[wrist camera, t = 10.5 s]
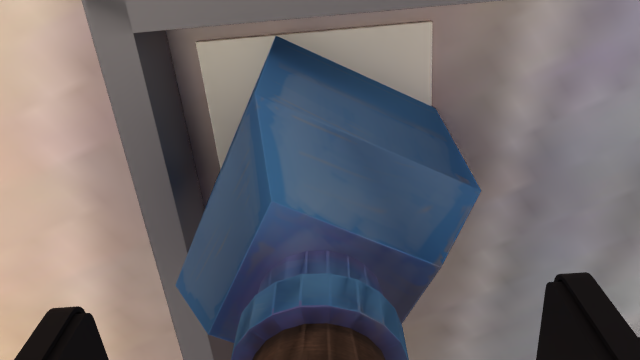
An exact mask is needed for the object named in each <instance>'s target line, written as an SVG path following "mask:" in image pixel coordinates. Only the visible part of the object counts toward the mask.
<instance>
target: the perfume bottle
mask: <svg viewBox="0 0 640 360" xmlns="http://www.w3.org/2000/svg"><path fill="white" fill-rule="evenodd" d="M480 192H481V189H480V188H479V186H478V184H477V182H476V180H475V179H474V177H473V175H472V173H471V171H470V170H469V168H468V166H467V164H466V163H465V161H464V159H463V157H462V155H461V154H460V152H459V150H458V148H457V146H456V145H455V143H454V141H453V139H452V137H451V136H450V134H449V132H448V130H447V128H446V127H445V125H444V123H443V121H442V119H441V118H440V116H439V114H438V112H437V110H436V109H435V108H434V107H432V106H430V105H427V104H425V103H423V102H421V101H419V100H416V99H414V98H412V97H410V96H408V95H405V94H403V93H401V92H399V91H397V90H394V89H392V88H390V87H388V86H386V85H383V84H381V83H379V82H377V81H375V80H372V79H370V78H368V77H366V76H364V75H361V74H359V73H357V72H355V71H353V70H350V69H348V68H346V67H344V66H342V65H339V64H337V63H335V62H333V61H331V60H328V59H326V58H324V57H322V56H320V55H317V54H315V53H313V52H311V51H309V50H306V49H304V48H302V47H300V46H298V45H295V44H293V43H291V42H289V41H287V40H284V39H282V38H280V37H278V36H275V39H274V41H273V44H272V46H271V48H270V51H269V53H268V56H267V58H266V61H265V63H264V65H263V68H262V70H261V73H260V75H259V78H258V80H257V82H256V85H255V87H254V90H253V92H252V95H251V97H250V99H249V102H248V104H247V107H246V109H245V112H244V114H243V116H242V119H241V121H240V124H239V126H238V129H237V131H236V133H235V136H234V138H233V141H232V143H231V146H230V148H229V150H228V153H227V155H226V158H225V160H224V163H223V165H222V167H221V170H220V172H219V175H218V177H217V180H216V182H215V185H214V187H213V190H212V192H211V195H210V197H209V200H208V203H207V205H206V208H205V210H204V213H203V215H202V218H201V221H200V223H199V226H198V228H197V231H196V233H195V236H194V239H193V241H192V244H191V246H190V249H189V251H188V254H187V257H186V259H185V262H184V264H183V267H182V269H181V272H180V275H179V277H178V280H177V282H176V285H175V286H176V287H177V289H178V290H179V292H180V293H181V295H182V296H183V298H184V299H185V301H186V302H187V304H188V305H189V307H190V308H191V310H192V311H193V313H194V314H195V316H196V317H197V319H198V320H199V322H200V323H201V325H202V326H203V328H204V329H205V331H206V332H207V334H208V335H211V336H214V337H217V338H220V339H223V340H226V341H229V342H232V343H234V347H233V352H232V357H231V360H409V359H408V354H407V349H406V343H405V338H404V333H403V327H402V325H401V324H402V323H403V321H404V320H405V318H406V317H407V316H408V314H409V313H410V311H411V310H412V308H413V307H414V305H415V304H416V303H417V301H418V300H419V298H420V297H421V295H422V294H423V293H424V291H425V290H426V288H427V287H428V285H429V284H430V282H431V281H432V280H433V278H434V277H435V275H436V274H437V272H438V271H439V270H440V268H441V266H442V264H443V263H444V261H445V259H446V257H447V255H448V253H449V251H450V249H451V247H452V246H453V244H454V242H455V240H456V238H457V236H458V234H459V232H460V230H461V228H462V227H463V225H464V223H465V221H466V219H467V217H468V215H469V213H470V211H471V209H472V208H473V206H474V204H475V202H476V200H477V198H478V196H479V194H480Z"/></svg>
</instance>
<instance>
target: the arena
mask: <svg viewBox="0 0 640 360" xmlns="http://www.w3.org/2000/svg"><path fill="white" fill-rule="evenodd" d="M489 1H501V0H82V3H83V7H84V10H85V14H86V18H87V21H88V25H89V28H90V32H91V35H92V39H93V42H94V46H95V49H96V53H97V56H98V60H99V63H100V67H101V71H102V74H103V78H104V81H105V85H106V88H107V92H108V95H109V99H110V102H111V106H112V109H113V113H114V116H115V120H116V123H117V127H118V131H119V134H120V138H121V141H122V145H123V148H124V152H125V155H126V159H127V162H128V166H129V169H130V173H131V176H132V180H133V184H134V187H135V191H136V194H137V198H138V201H139V205H140V208H141V212H142V215H143V219H144V222H145V226H146V229H147V233H148V236H149V240H150V244H151V247H152V251H153V254H154V258H155V261H156V265H157V268H158V272H159V275H160V279H161V282H162V286H163V289H164V293H165V297H166V300H167V304H168V307H169V311H170V314H171V318H172V321H173V325H174V328H175V332H176V335H177V339H178V342H179V346H180V349H181V353H182V357H183V360H231V357H232V352H233V347H234V343H232V342H229V341H226V340H223V339H220V338H217V337H214V336H211V335H208V334H207V332H206V331H205V329H204V328H203V326H202V325H201V323H200V322H199V320H198V319H197V317H196V316H195V314H194V313H193V311H192V310H191V308H190V307H189V305H188V304H187V302H186V301H185V299H184V298H183V296H182V295H181V293H180V292H179V290H178V289H177V287H176V286H175V285H176V282H177V280H178V277H179V275H180V272H181V269H182V267H183V264H184V262H185V259H186V257H187V254H188V251H189V249H190V246H191V244H192V241H193V239H194V236H195V233H196V231H197V228H198V226H199V223H200V221H201V218H202V215H203V213H204V205H203V201H202V196H201V191H200V187H199V182H198V178H197V173H196V169H195V164H194V159H193V155H192V150H191V146H190V141H189V136H188V132H187V127H186V123H185V118H184V114H183V109H182V104H181V100H180V95H179V91H178V86H177V82H176V77H175V72H174V68H173V63H172V59H171V54H170V49H169V45H168V40H167V36H166V31H165V30H173V29H184V28H196V27H207V26H218V25H229V24H241V23H252V22H263V21H275V20H286V19H297V18H309V17H320V16H331V15H343V14H354V13H365V12H376V11H388V10H399V9H410V8H422V7H433V6H444V5H456V4H467V3H478V2H489ZM275 36H278V37H280V38H282V39H284V40H287V41H289V42H291V43H293V44H295V45H298V46H300V47H302V48H304V49H306V50H309V51H311V52H313V53H315V54H317V55H320V56H322V57H324V58H326V59H328V60H331V61H333V62H335V63H337V64H339V65H342V66H344V67H346V68H348V69H350V70H353V71H355V72H357V73H359V74H361V75H364V76H366V77H368V78H370V79H372V80H375V81H377V82H379V83H381V84H383V85H386V86H388V87H390V88H392V89H394V90H397V91H399V92H401V93H403V94H405V95H408V96H410V97H412V98H414V99H416V100H419V101H421V102H423V103H425V104H427V105H430V106H432V21H423V22H411V23H400V24H389V25H377V26H366V27H354V28H343V29H331V30H320V31H308V32H297V33H285V34H274V35H263V36H251V37H240V38H228V39H217V40H205V41H197V42H196V47H197V52H198V57H199V62H200V67H201V73H202V78H203V83H204V88H205V93H206V98H207V104H208V109H209V114H210V119H211V124H212V129H213V134H214V140H215V145H216V150H217V155H218V160H219V165H220V170H221V167H222V165H223V163H224V160H225V158H226V155H227V153H228V150H229V148H230V146H231V143H232V141H233V138H234V136H235V133H236V131H237V129H238V126H239V124H240V121H241V119H242V116H243V114H244V112H245V109H246V107H247V104H248V102H249V99H250V97H251V95H252V92H253V90H254V87H255V85H256V82H257V80H258V78H259V75H260V73H261V70H262V68H263V65H264V63H265V61H266V58H267V56H268V53H269V51H270V48H271V46H272V44H273V41H274V39H275Z"/></svg>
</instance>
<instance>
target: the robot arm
mask: <svg viewBox="0 0 640 360" xmlns="http://www.w3.org/2000/svg"><path fill="white" fill-rule="evenodd" d="M14 360H109V359H108V357H107V354H106V351H105V348H104V346H103V343H102V340H101V337H100V334H99V332H98V329H97V326H96V323H95V321H94V318H93V316H92V315H91V314H90V313H85V311H84V309H83V308H81V307H65V308H53V309H50V310H49V311H48V312H47V313H46V314H45V316H44V317H43V319H42V320H41V322H40V323H39V324H38V326H37V327H36V329H35V330H34V332H33V333H32V335H31V336H30V338H29V339H28V340H27V342H26V343H25V345H24V346H23V348H22V349H21V351H20V352H19V353H18V355H17V356H16V358H15V359H14ZM536 360H640V337H637V336H636V334H635V333H634V332H633V330H632V329H631V328H630V326H629V325H628V324H627V322H626V321H625V320H624V318H623V317H622V316H621V314H620V313H619V312H618V310H617V309H616V308H615V306H614V305H613V304H612V302H611V301H610V300H609V298H608V297H607V296H606V294H605V293H604V292H603V290H602V289H601V288H600V286H599V285H598V284H597V282H596V281H595V279H594V278H593V277H592V276H591V275H590V274H589V273H586V272H585V273H570V274H559V275H557V276H556V277H555V280H554V282H549V283H547V285H546V290H545V297H544V305H543V312H542V320H541V328H540V335H539V343H538V350H537V358H536Z"/></svg>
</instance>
